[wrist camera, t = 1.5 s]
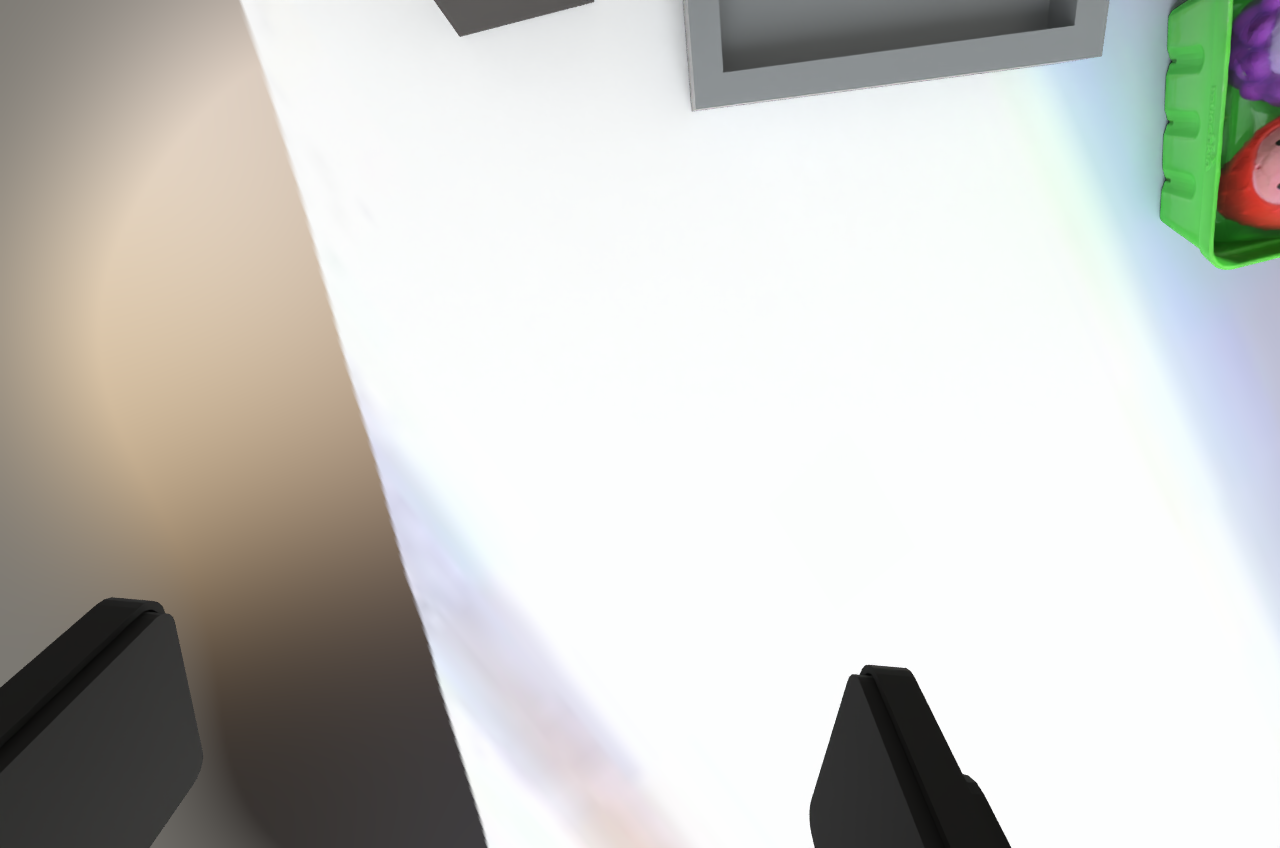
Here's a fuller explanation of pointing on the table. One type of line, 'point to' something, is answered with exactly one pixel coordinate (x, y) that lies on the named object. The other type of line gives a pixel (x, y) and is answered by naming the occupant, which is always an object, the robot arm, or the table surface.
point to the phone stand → (498, 12)
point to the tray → (873, 43)
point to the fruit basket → (1224, 129)
